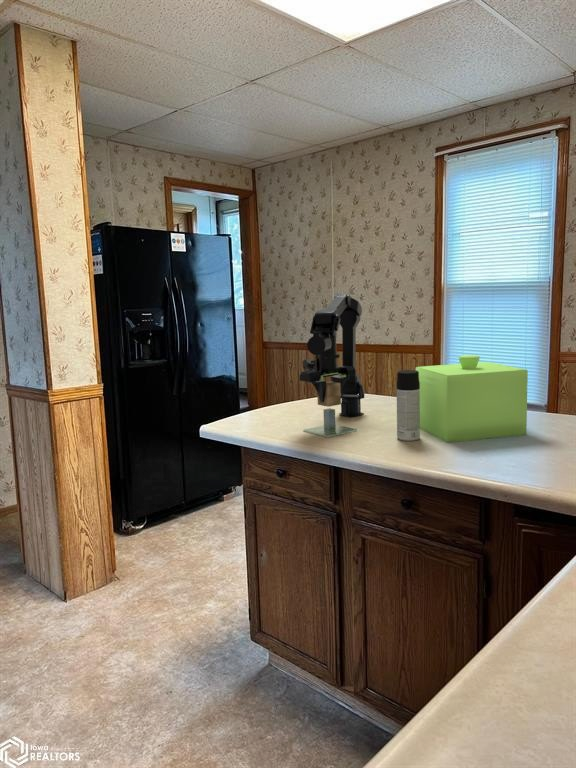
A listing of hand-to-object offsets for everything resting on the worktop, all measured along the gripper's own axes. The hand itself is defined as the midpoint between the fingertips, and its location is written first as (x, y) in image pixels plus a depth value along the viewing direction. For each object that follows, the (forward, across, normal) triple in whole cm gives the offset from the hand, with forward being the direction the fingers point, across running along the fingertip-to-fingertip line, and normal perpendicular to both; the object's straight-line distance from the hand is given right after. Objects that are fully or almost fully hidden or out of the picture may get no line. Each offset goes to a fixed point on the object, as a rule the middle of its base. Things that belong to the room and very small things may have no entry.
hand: (329, 400), depth 182 cm
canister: (+10, -30, +30) cm, 44 cm away
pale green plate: (+10, 0, 0) cm, 10 cm away
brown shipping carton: (+1, 0, 0) cm, 1 cm away
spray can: (+10, -10, +24) cm, 28 cm away
